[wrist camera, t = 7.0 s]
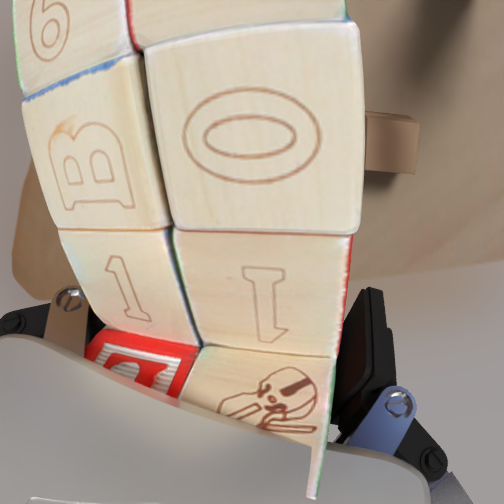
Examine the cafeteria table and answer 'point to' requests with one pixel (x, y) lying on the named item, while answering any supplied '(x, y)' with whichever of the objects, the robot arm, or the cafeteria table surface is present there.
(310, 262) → the stack of blocks
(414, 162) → the walnut cube
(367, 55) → the cafeteria table surface
